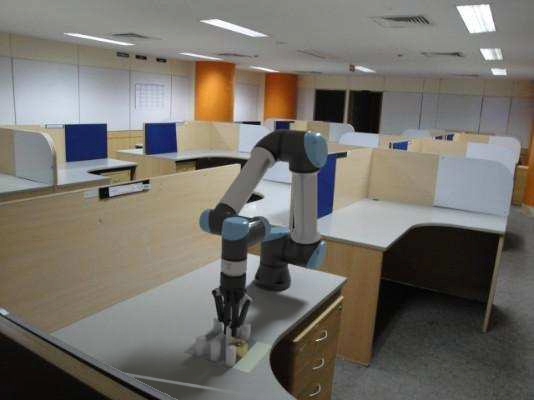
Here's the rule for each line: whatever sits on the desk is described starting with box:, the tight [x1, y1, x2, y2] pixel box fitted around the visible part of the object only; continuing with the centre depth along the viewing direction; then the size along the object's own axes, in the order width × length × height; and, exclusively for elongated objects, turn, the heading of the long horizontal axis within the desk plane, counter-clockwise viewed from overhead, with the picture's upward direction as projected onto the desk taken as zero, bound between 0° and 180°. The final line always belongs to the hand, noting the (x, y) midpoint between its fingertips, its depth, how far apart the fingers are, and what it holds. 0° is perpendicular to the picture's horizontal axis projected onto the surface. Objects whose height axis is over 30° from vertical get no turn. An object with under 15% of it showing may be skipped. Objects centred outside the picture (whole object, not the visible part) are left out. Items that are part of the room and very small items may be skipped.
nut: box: [229, 339, 248, 358], centre depth 131 cm, size 6×5×3 cm
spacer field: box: [184, 315, 273, 374], centre depth 133 cm, size 16×21×6 cm
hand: (229, 345), depth 133 cm, fingers closed
